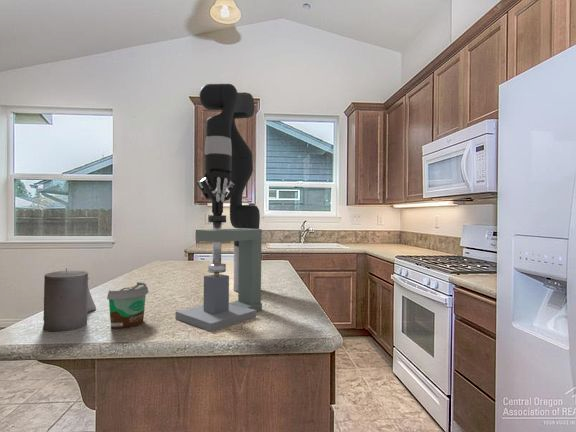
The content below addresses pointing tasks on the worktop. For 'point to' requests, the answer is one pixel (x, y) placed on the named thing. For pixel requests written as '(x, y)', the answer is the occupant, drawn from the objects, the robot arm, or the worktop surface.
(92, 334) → the worktop surface
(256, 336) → the worktop surface
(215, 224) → the press ram
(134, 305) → the food container
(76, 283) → the pillar candle
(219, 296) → the block
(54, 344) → the worktop surface
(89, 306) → the flask
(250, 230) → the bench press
